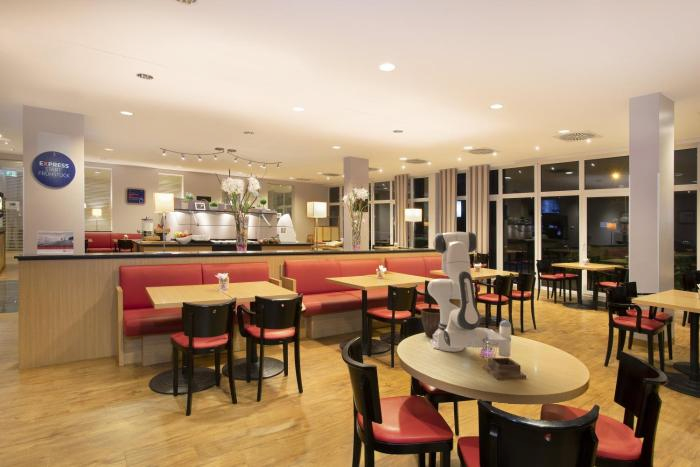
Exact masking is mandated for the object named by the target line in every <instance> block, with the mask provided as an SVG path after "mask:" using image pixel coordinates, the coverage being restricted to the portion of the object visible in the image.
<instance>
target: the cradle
mask: <svg viewBox="0 0 700 467" xmlns="http://www.w3.org/2000/svg"><path fill="white" fill-rule="evenodd" d="M487 363H488V364H483V365H482V369H484V370H485V371H486V372H487V373H489V375H490V376H492V377H493V378H495V379H496V380H497V381H499V380H526V379H527V374H525V373H524V372H522V371H521V368H522V367H521V365H520V363H518V362H516V361H514V360H513V359H512V358H510V357H488V362H487Z"/></svg>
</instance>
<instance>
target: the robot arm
mask: <svg viewBox="0 0 700 467" xmlns="http://www.w3.org/2000/svg"><path fill="white" fill-rule="evenodd" d="M478 242H479V240H478V238H477V235H476V234H475V233H474V232H470V231H467V232H465V231H451V232H438V233H435V235H434V237H433V240H432V244H433V245H432V246H433V249H434V251H435V252H437V253H440V254H441V271H442V272H443V274H444V275H446V276H448V278H435V279H431V280H430V281H429V282H428V284H427V292H428V294H429V296H431V297H432V298H433V299H434V300H435V301H436V303H437V305H438V307H439V308H438V309H440V322H439V329H438V330H437V331H435V334H433V337H432V338H430V341H431V342H430V344H431V346H432V348H433V349H436V350H441V351H444V352H453V353H454V352H461V351H463V350H464V349H466V348H475V349H477V348H485V347H486V345H488V346H489V347H491V348H499V347H500V348H506V347H507V346H508V342H510V341H511V342H512V337H511V338H510V337H506V338H504V337H502V336H500V335H499V332H497V331H496V332H495V331H494V330H493V331H492V330H491V329H489V328H487V327H479V325H480V324H481V319H482V318H481V314H480V312H479V310H478V307H477V304H476V303H477V302H476V296H475V293H476V286H475V284H474V282H473V279H472V278H473V277H472V272H471V259H470V253H474V252H475V251H476V250H477V247H478ZM450 300H460V307H458V306H457V305H456V304H453V303H452V302H450Z"/></svg>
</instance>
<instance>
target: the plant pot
mask: <svg viewBox="0 0 700 467" xmlns="http://www.w3.org/2000/svg"><path fill="white" fill-rule="evenodd" d="M420 316H421V322H422V326H423V330H424V333H425V336H426V335H427V336H426V337H428V336H430V337H429V338H433V334H435V331H437V330H438V329H439V322H440V308H438V307H436V308H434V307H424V308H421V309H420Z"/></svg>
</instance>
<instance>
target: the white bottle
mask: <svg viewBox="0 0 700 467" xmlns="http://www.w3.org/2000/svg"><path fill="white" fill-rule="evenodd" d="M498 330H499V332H498V333H499V335H500V336H502V337H504V338H506V337H510V338H511V339H512V336H511V335H512V324H511V322H510V321H509V320H505V319H504V320H501V321H500V322H499V329H498ZM511 342H512V340H511V341H510V342H508V346H507V347H506V348H500V347H498V356H500V357H502V358H510V357H511Z"/></svg>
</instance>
